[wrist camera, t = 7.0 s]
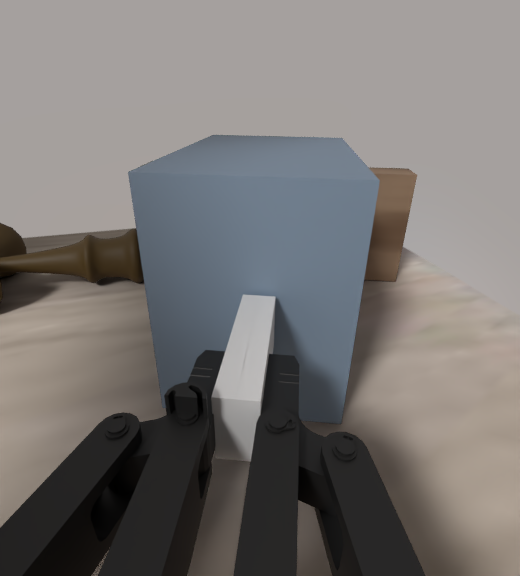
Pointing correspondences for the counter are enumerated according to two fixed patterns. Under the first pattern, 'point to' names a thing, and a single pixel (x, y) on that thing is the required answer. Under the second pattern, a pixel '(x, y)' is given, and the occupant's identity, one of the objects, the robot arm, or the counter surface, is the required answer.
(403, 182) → the board
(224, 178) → the block
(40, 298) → the counter surface
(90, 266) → the kendama
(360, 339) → the counter surface
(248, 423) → the robot arm
